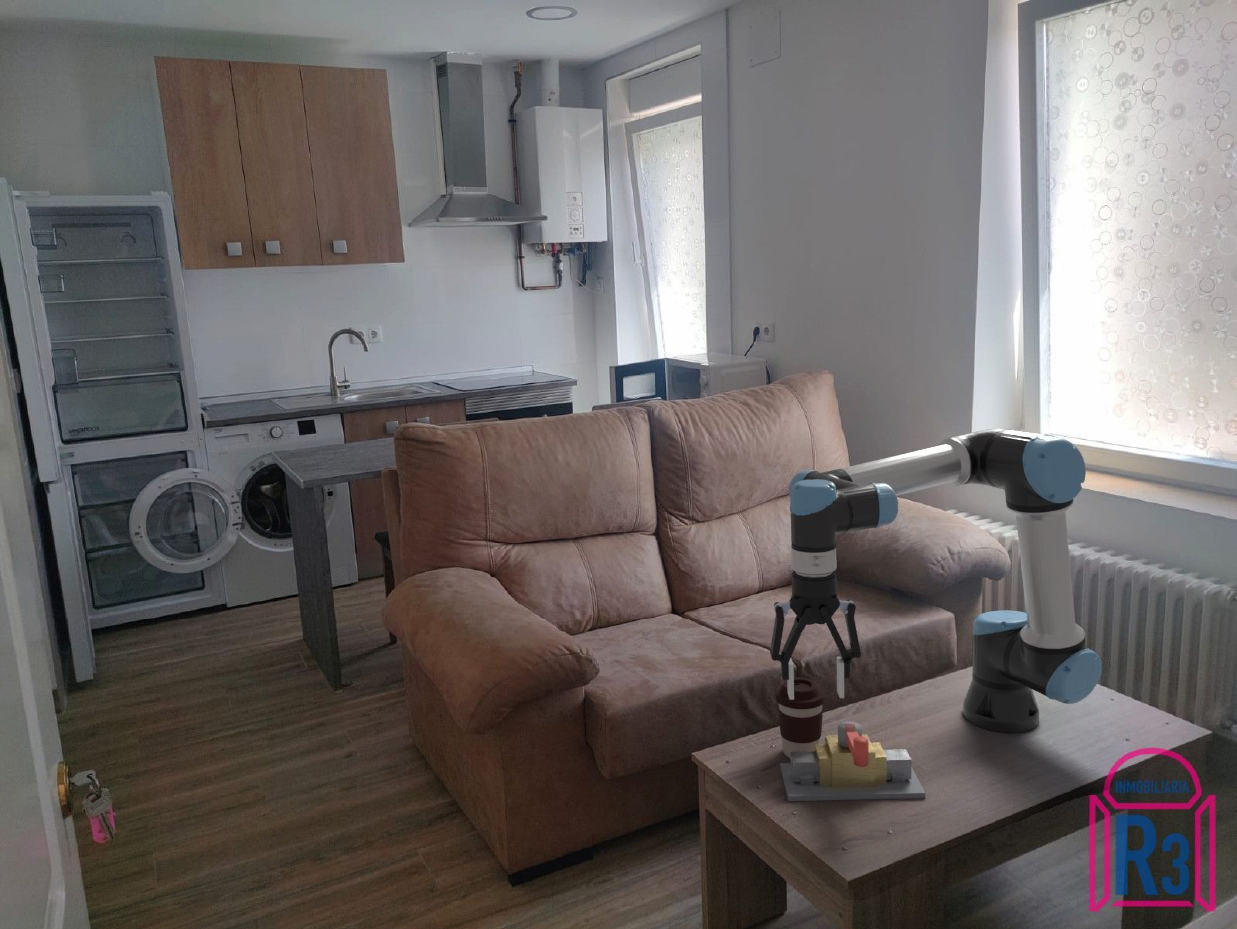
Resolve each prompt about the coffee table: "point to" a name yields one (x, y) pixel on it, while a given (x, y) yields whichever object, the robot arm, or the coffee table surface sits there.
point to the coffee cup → (800, 715)
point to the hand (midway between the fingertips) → (815, 695)
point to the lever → (854, 742)
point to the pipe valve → (849, 766)
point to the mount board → (850, 789)
